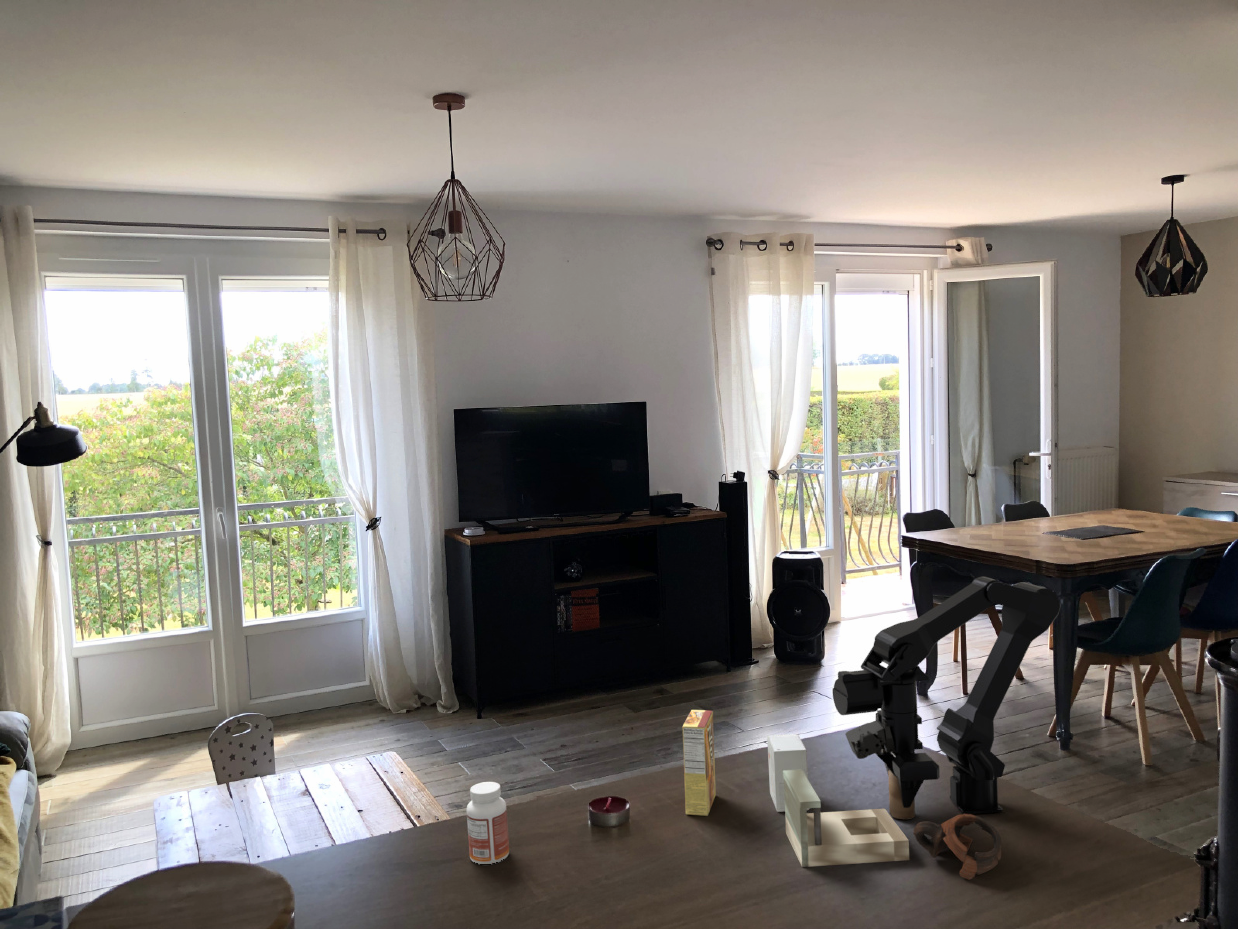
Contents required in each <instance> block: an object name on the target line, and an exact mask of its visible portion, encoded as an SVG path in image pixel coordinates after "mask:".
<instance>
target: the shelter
mask: <svg viewBox="0 0 1238 929" xmlns="http://www.w3.org/2000/svg"><path fill="white" fill-rule="evenodd" d="M783 777H784V794H785V811H784V812H785V814H784V816H785V833H786V836H787V838H788V840H789V842H790V845H791V846H792V849H793V850H794V853H795V855H796V857H797V859H798V861H799V863H800V866H801V867H802V868H805V867H806V868H808V867H823V866H837V865H852V864H853V865H855V864H869V863H870V864H871V863H882V862H883V863H885V862H899V861H910V844H909V843H910V842H909V841H910V840H909V839H908V838H907V836H906V835H905V834H904V832H903V831H902V830H901V828H900V827H899V825H898V824H897V823H896V822H895V820H894V819H893V817H892V816H891V815H890V813H888V811H887V809H886V808H874V809H870V808H869V809H859V810H858V809H856V810H842V811H841V810H839V811H825V812H824V811H823V812H821V808H822V807H821V806H822V805H821V804H822V803H821V799H820V797H819V796H818V794H817V793H816V791H815V789H814V788H813V786H812V784H811V782H810V781H809V778H808V779H807V778H806V776H805V774H804V773H803V771H802V769H801V770H785V771H783ZM807 808H809V809H812V810H813V812H812V813H811V812H810V813H809V812H807V811H808V810H807Z"/></svg>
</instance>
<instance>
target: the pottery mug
mask: <svg viewBox="0 0 1238 929" xmlns="http://www.w3.org/2000/svg"><path fill="white" fill-rule="evenodd" d="M972 824H975V825H978V826H979V827H981V830H982V831H984V832H986V833H988V834H989V835H990V836H991V838H992V840H993V842H994V846H993V847H992V848H991V850H989V851H986V852H981V851H976V852H975V853H974V857H972V856H970V855H969V854H968V851H969V849H970V847H971V844H972V842H973V839H972V838H971V837H969V836H966V835H964V834H963V833H961V831H962V830H963V829H964V827H965V826H971V825H972ZM913 835H914V838H915V839H916V842H917V843H918V844H919V845H920V846H921V847H922V848H923V849H925V850H926V851H928V853H929V854H930V856H931V857H932V858H933V859H937V856H938V855H939V853H940V852H941V851H942V850H944V849H947V848H949V849H950V851H951V852H953V854H954V855H955V856H956V858H958V860H960V861H961V862H962V868H961V869H960V870H959V876H960V877H961V878H963V879H966V880H968V881H970V880H972V879H973V878H975V877H976V875H978V876H979V875H981V874H984V873H986V872H988V871H990V870H992V869H994V868H996V867H997V866H998V865H999V861H1000V860H1001V858H1002V840H1001V836H1000V834H999V832H998V831H997V829H996V828H995V826H993V824H991V823H990V822H989V821H988V820H986V819H984V817H983V818H982V817H981V816H979V815H976V814H975V815H974V814H964V813H962V814H957V815H955V816H954V817H952V818H949V819H947V820H945V821H944V822H942V823H935V822H933V821H928V820H927V821H926V820H923V821H920V822H918V823H917V824H916V825H915V827H914V828H913ZM927 836H929V837H930V838H929V837H927Z"/></svg>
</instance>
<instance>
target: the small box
mask: <svg viewBox="0 0 1238 929" xmlns="http://www.w3.org/2000/svg"><path fill="white" fill-rule="evenodd" d="M766 740H767V756H768V757H767V758H768V775H769V776H768V778H769V779H768V780H769V794H770V796H771V799H772V802H773V805H774V807H775V810H776V812H777V813H780V812H781V813H782V812H785V794H784V777H783V771H785V770H801V769H802V771H803V773H804V774H805V776H806V778H807V779H808V780H809V776H808V775H809V774H808V756H807V755H808V754H807V752H808V751H807V749H806V746H805V744H804V743H803V740H802V739H801V737H800V735H799V734H795V733H794V734H776V735H775V734H774V735H770V734H769V735H767V739H766ZM807 811H810V808H807Z"/></svg>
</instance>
